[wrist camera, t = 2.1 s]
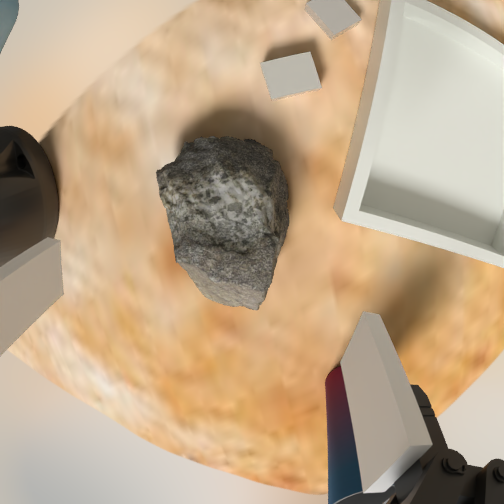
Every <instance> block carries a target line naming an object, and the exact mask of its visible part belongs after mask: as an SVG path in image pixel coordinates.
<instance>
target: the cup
mask: <svg viewBox="0 0 504 504" xmlns="http://www.w3.org/2000/svg"><path fill="white" fill-rule="evenodd" d="M325 389H326V409H327V436H328V504H382V503H383V502H385V501H386V500H387V499H388V498H389V497H391V496H392V495H393V494H394V493H395V492H396V491H395V486H394V484H393V485H392V486H391V487H389V488H388V489H387V490H386V491H385V492H377V493H363V488H362V481H361V475H360V468H359V462H358V455H357V449H356V443H355V437H354V431H353V426H352V420H351V415H350V409H349V404H348V399H347V393H346V388H345V383H344V378H343V373H342V369H341V366H339V367H337V368H335V369H334V370H332V371H331V372H330V373H329V375H328V376H327V378H326V381H325Z"/></svg>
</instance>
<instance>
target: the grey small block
mask: <svg viewBox="0 0 504 504" xmlns="http://www.w3.org/2000/svg"><path fill="white" fill-rule="evenodd" d="M260 65H261V68H262V72H263V75H264V78H265V81H266V84H267V88H268V91H269V94H270V97H271V101H275V100H279V99H283V98H287V97H292V96H296V95H300V94H305V93H309V92H314V91H318V90H320V89H321V88H322V87H321V84H320V80H319V77H318V74H317V71H316V67H315V64H314V61H313V58H312V55H311V52H305V53H300V54H296V55H291V56H287V57H282V58H278V59H274V60H270V61H266V62H262V63H260Z"/></svg>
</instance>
